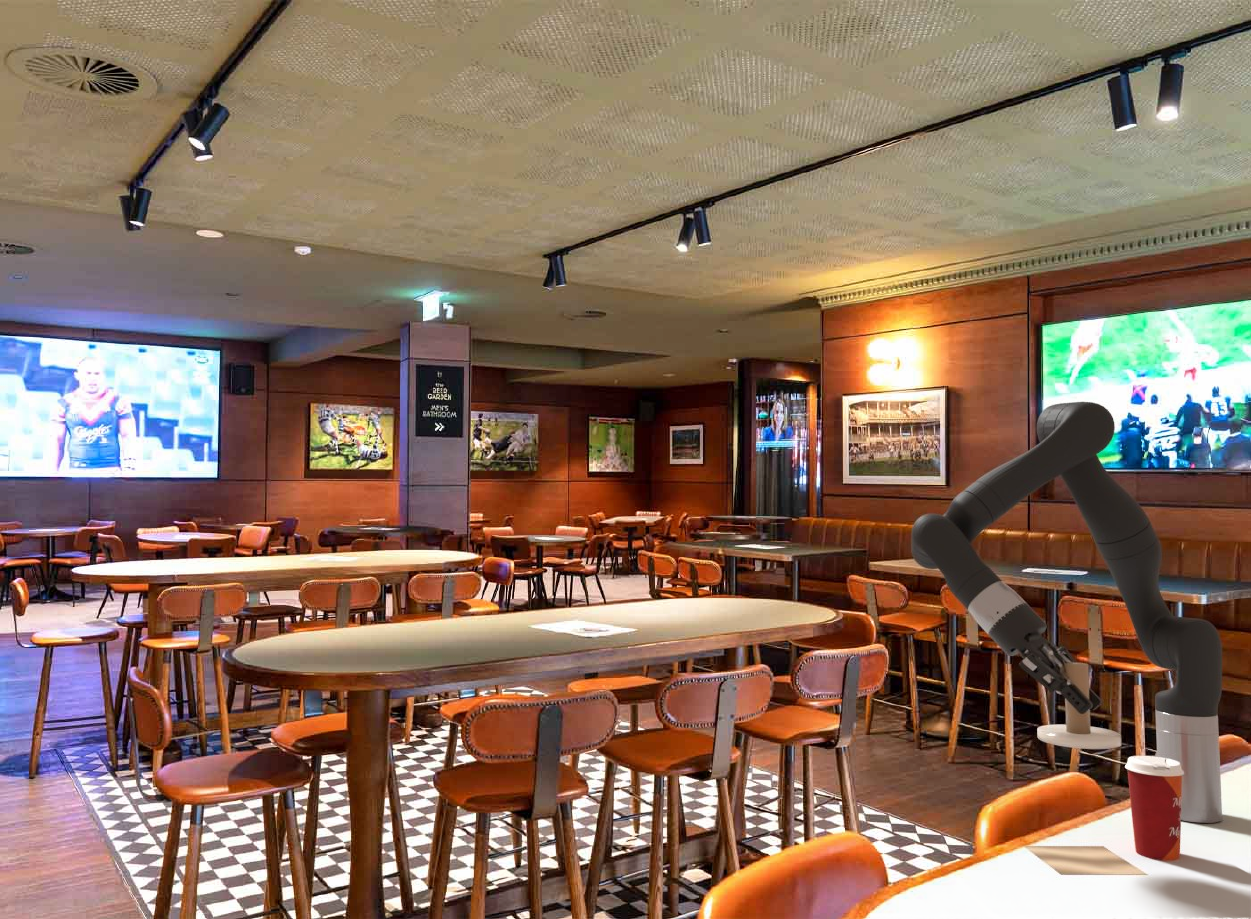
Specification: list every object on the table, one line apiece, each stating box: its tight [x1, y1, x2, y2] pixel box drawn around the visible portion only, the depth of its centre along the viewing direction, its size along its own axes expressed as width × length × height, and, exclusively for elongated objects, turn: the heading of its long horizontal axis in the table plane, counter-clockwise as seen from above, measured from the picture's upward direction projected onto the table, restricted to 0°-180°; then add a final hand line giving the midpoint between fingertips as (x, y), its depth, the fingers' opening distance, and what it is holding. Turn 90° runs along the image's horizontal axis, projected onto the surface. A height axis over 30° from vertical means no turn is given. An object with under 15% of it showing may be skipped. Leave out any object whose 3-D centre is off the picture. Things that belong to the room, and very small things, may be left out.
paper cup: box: [1124, 755, 1184, 862], centre depth 140 cm, size 8×8×14 cm
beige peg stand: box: [1036, 661, 1122, 750], centre depth 139 cm, size 11×11×11 cm
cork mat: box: [1023, 845, 1149, 876], centre depth 137 cm, size 12×12×1 cm
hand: (1092, 708), depth 137 cm, fingers closed on beige peg stand, 3 cm apart
